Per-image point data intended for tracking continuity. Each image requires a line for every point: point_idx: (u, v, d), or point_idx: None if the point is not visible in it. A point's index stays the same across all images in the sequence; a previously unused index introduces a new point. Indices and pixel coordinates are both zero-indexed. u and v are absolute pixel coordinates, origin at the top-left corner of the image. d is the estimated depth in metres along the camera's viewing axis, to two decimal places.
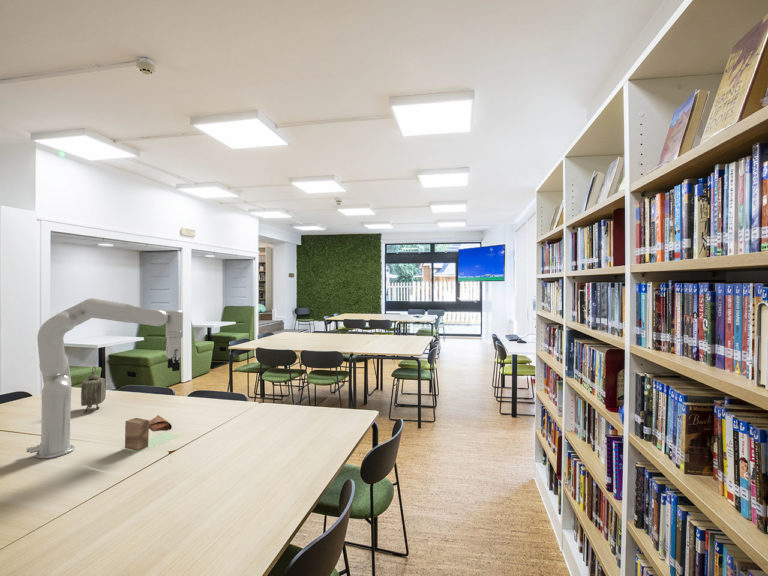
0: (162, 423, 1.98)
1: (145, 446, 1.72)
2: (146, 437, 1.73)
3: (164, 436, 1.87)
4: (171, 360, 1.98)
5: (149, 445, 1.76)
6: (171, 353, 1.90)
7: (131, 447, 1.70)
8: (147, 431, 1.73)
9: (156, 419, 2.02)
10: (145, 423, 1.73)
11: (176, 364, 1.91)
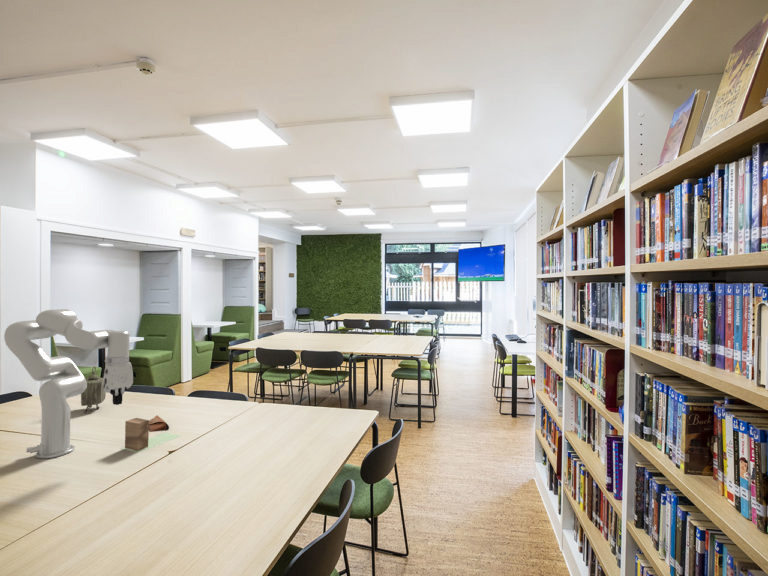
0: (160, 423, 1.97)
1: (145, 446, 1.72)
2: (146, 437, 1.73)
3: (164, 436, 1.87)
4: None
5: (149, 445, 1.76)
6: None
7: (131, 447, 1.70)
8: (147, 431, 1.73)
9: (154, 419, 2.02)
10: (145, 423, 1.73)
11: None
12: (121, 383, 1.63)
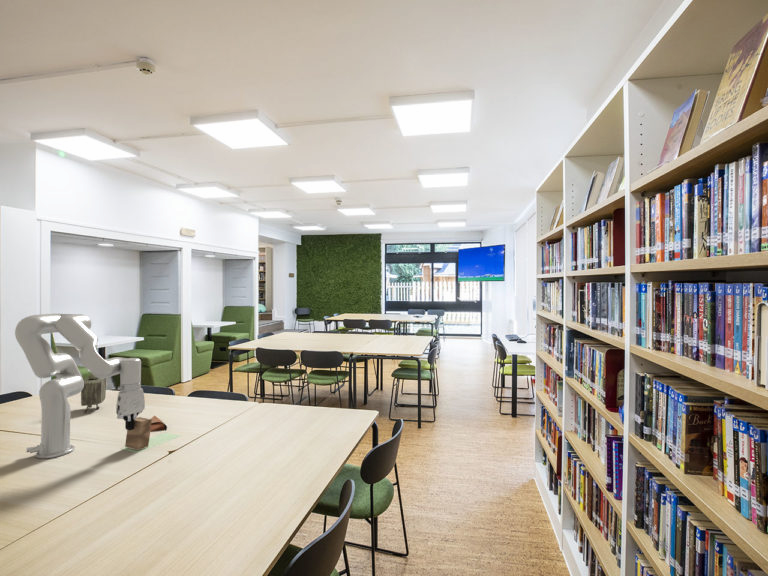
0: (157, 424, 1.97)
1: (145, 446, 1.73)
2: (147, 436, 1.73)
3: (164, 436, 1.87)
4: None
5: (149, 445, 1.76)
6: None
7: (131, 446, 1.71)
8: (149, 430, 1.74)
9: (152, 420, 2.01)
10: (148, 422, 1.74)
11: None
12: (133, 409, 1.68)
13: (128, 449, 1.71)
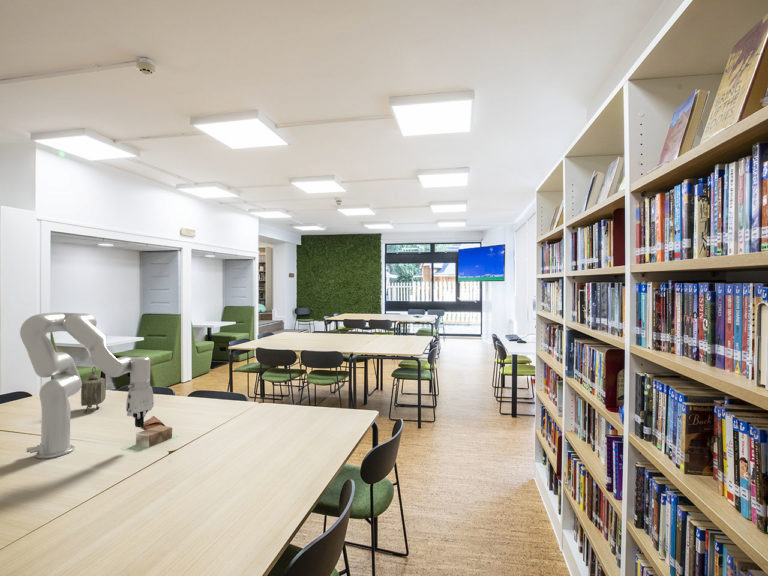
0: (156, 424, 1.97)
1: (150, 443, 1.75)
2: (157, 441, 1.78)
3: None
4: None
5: None
6: None
7: (144, 433, 1.76)
8: (162, 440, 1.80)
9: (151, 420, 2.01)
10: (169, 436, 1.84)
11: None
12: (143, 407, 1.73)
13: (128, 449, 1.71)
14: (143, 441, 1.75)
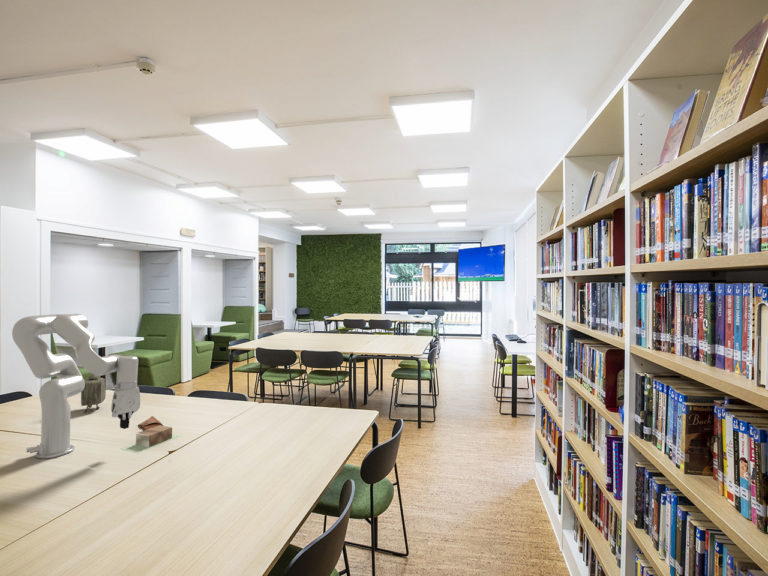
0: (155, 424, 1.96)
1: (150, 443, 1.75)
2: (157, 441, 1.78)
3: None
4: None
5: None
6: None
7: (144, 433, 1.76)
8: (162, 440, 1.80)
9: (150, 420, 2.01)
10: (169, 436, 1.84)
11: None
12: (129, 408, 1.67)
13: (128, 449, 1.71)
14: (143, 441, 1.75)
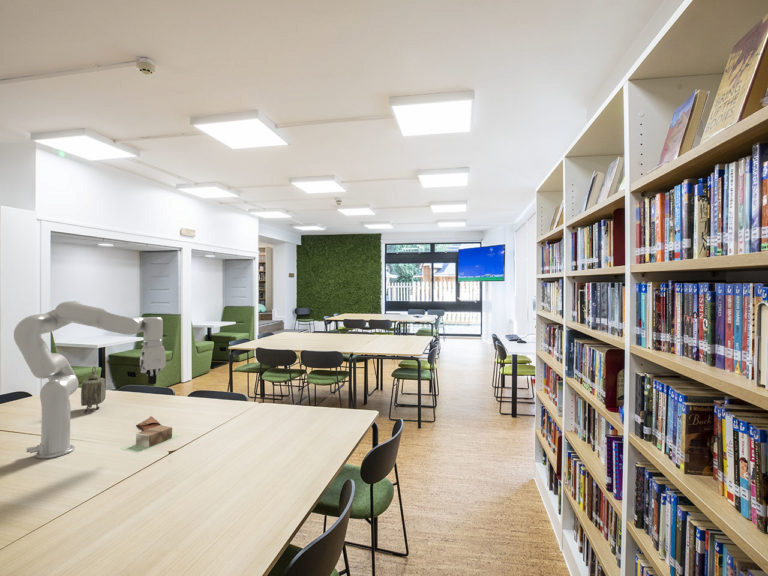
0: (154, 424, 1.96)
1: (150, 443, 1.75)
2: (157, 441, 1.78)
3: None
4: None
5: None
6: None
7: (144, 433, 1.76)
8: (162, 440, 1.80)
9: (148, 420, 2.00)
10: (169, 436, 1.84)
11: None
12: (156, 364, 1.79)
13: (128, 449, 1.71)
14: (143, 441, 1.75)
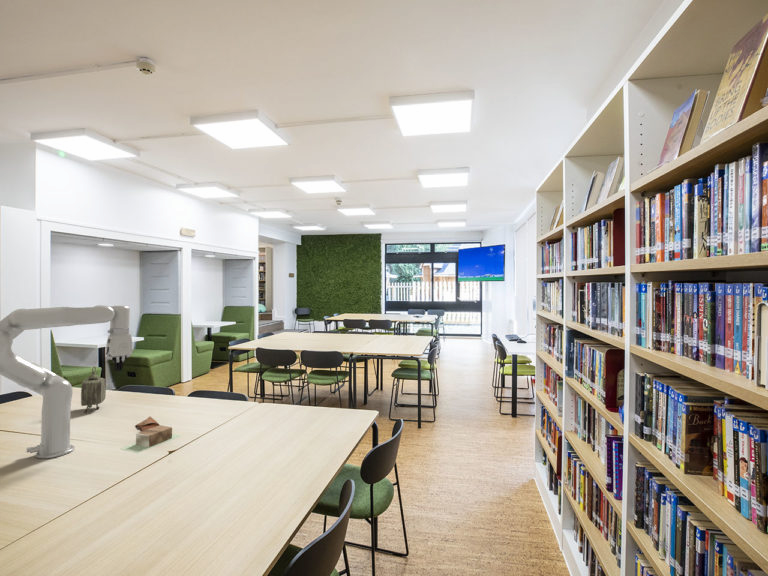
0: (152, 425, 1.95)
1: (150, 443, 1.75)
2: (157, 441, 1.78)
3: None
4: None
5: None
6: None
7: (144, 433, 1.76)
8: (162, 440, 1.80)
9: (147, 420, 2.00)
10: (169, 436, 1.84)
11: None
12: (122, 351, 1.84)
13: (128, 449, 1.71)
14: (143, 441, 1.75)
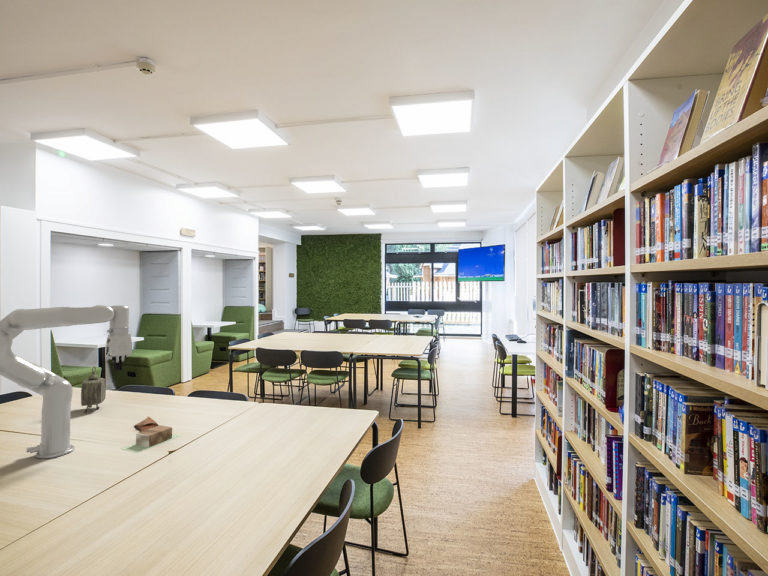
0: (151, 425, 1.95)
1: (150, 443, 1.75)
2: (157, 441, 1.78)
3: None
4: None
5: None
6: None
7: (144, 433, 1.76)
8: (162, 440, 1.80)
9: (146, 421, 2.00)
10: (169, 436, 1.84)
11: None
12: (121, 351, 1.84)
13: (128, 449, 1.71)
14: (143, 441, 1.75)
